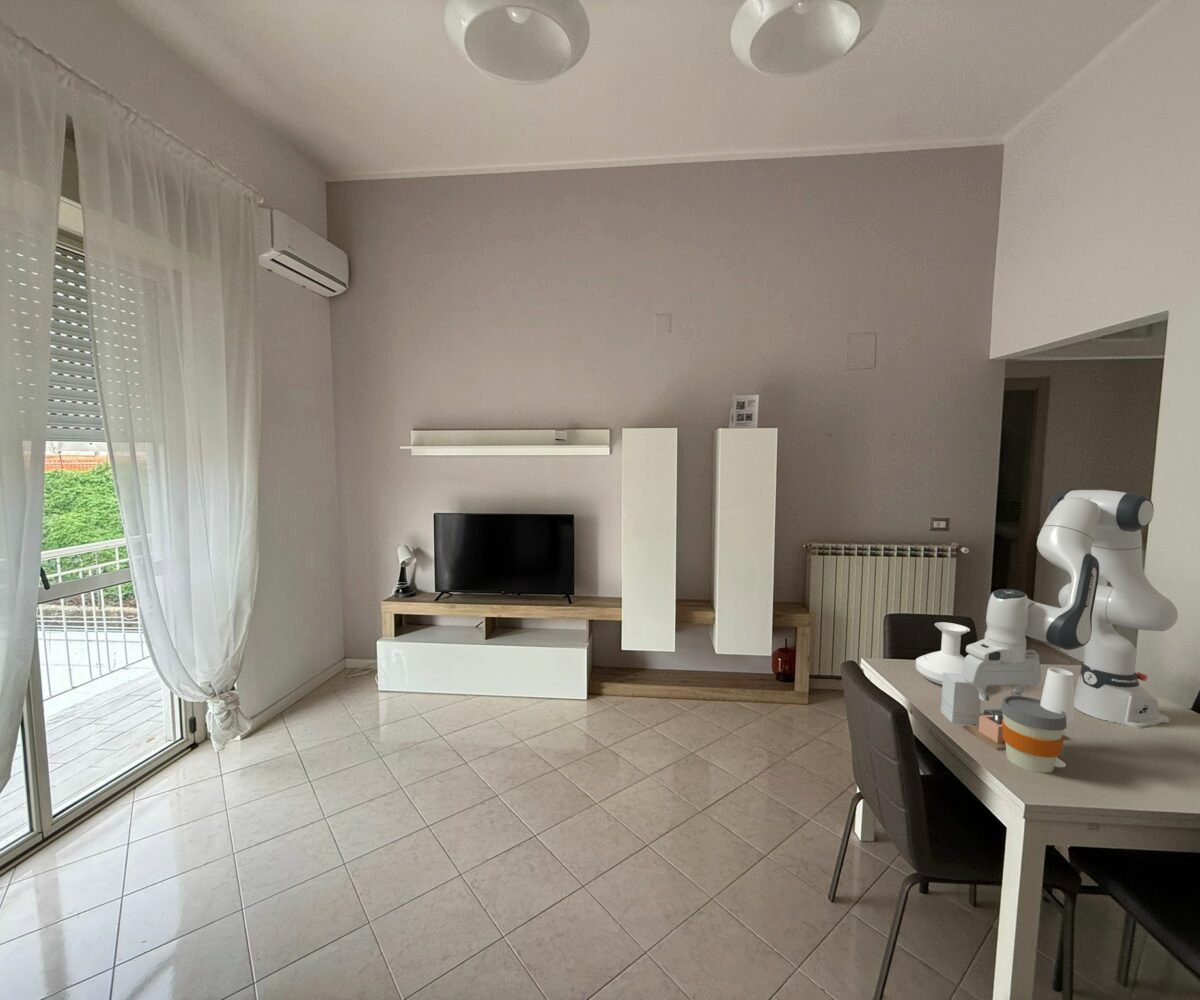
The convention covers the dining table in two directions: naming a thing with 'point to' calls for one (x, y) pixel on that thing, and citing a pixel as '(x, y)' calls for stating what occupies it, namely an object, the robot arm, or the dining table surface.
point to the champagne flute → (1059, 696)
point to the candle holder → (944, 654)
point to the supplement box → (960, 699)
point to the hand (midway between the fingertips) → (999, 699)
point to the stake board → (984, 737)
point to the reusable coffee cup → (1032, 733)
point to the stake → (997, 717)
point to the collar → (991, 728)
